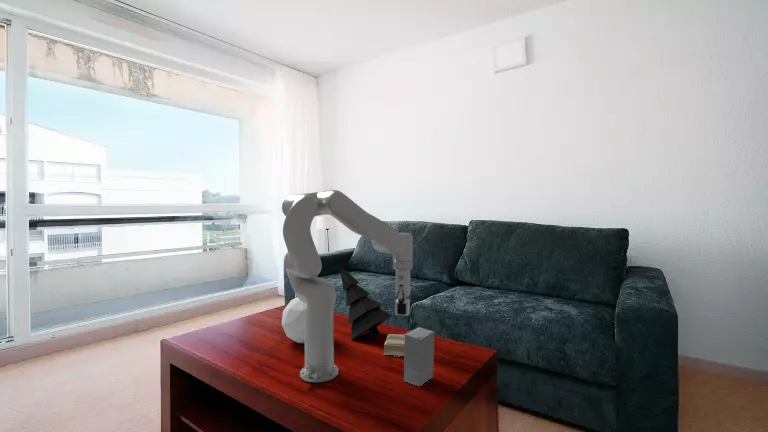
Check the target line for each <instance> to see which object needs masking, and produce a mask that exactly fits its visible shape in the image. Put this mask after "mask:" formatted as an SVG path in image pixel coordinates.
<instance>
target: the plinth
mask: <svg viewBox="0 0 768 432" xmlns="http://www.w3.org/2000/svg"><path fill="white" fill-rule="evenodd" d="M404 351H405V334H396V333H388V334H387V337H386V339H385V342H384V344H383V356H384V355H394V356H393V357H396V356H395V355H398V356H397V357H400V356H404Z"/></svg>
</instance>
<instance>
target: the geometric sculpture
mask: <svg viewBox="0 0 768 432" xmlns="http://www.w3.org/2000/svg"><path fill="white" fill-rule="evenodd" d="M306 309H307V304H306V303H304V302H303V301H301V300H300V299H299V298H298V297H297V296H296V297H295V298H293V299H291V300H290V301H289V302H288V304H287V306H286V307H285V308H284V309H283V311H282V315H281V316H282V317H281V326H282V329H283V331H284V333H285V335H286V337H287V338H289V339H291V340H292V341H294V342H296V343H297V344H305V329H304V321H305V313H306Z"/></svg>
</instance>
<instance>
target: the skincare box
mask: <svg viewBox="0 0 768 432" xmlns="http://www.w3.org/2000/svg"><path fill="white" fill-rule="evenodd" d="M404 335H405V351H404V357H403V358H404V360H403V361H404V363H403V382H404V381H405V382H404V383H406V382H408V383H407V384H409V383H410V384H409V385H411V384H413V385H412V386H414V385H417V386H422V385H423V384H424V383H425V382H427V381H428V380H429V379H431V378H432V377H433V378H434V363H435V361H434V359H435V358H434V357H435V331H434V330H430V329H426V328H424V327H419V326H418V327H416V328H415V329H412V330H410V331H408V332H406V333H404ZM433 378H432V379H433ZM432 379H431V380H432ZM428 382H429V381H428ZM428 382H427V383H428ZM424 385H425V384H424ZM424 385H423V386H424ZM423 386H422V387H423Z"/></svg>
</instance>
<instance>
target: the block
mask: <svg viewBox="0 0 768 432" xmlns="http://www.w3.org/2000/svg"><path fill="white" fill-rule="evenodd" d="M410 300H411V299H410V298H407V299H405V304H406V314H405V315H403V314H397V303H398V298H396V300H395V301H394V302H395V303H394V307H395V308H394V309H395V311H394V315H395V316H405V317H406V316H407V317H408V316H409V315H410V312H411V311H410V310H411V309H410V307H411V306H410V305H411V304H410Z"/></svg>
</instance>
